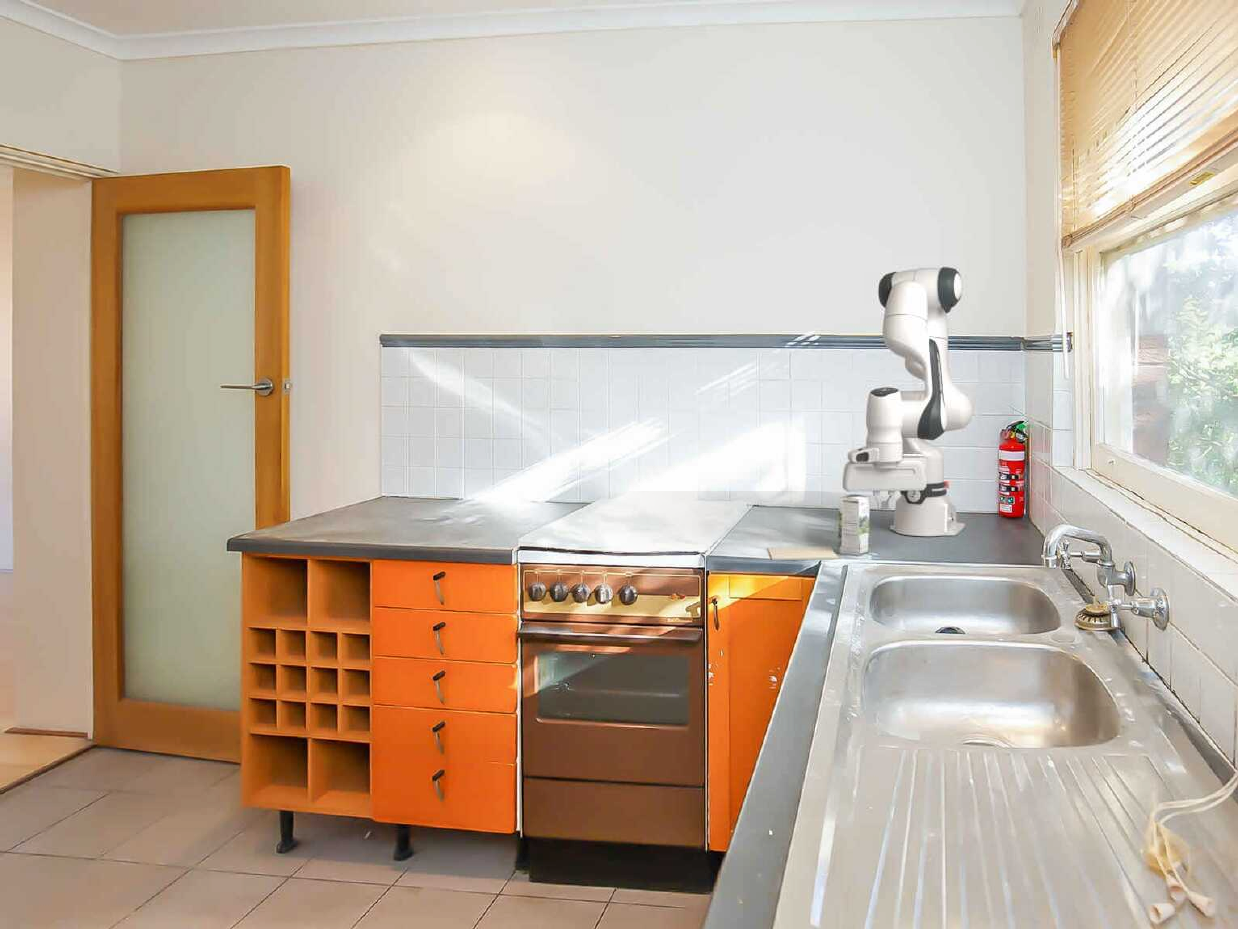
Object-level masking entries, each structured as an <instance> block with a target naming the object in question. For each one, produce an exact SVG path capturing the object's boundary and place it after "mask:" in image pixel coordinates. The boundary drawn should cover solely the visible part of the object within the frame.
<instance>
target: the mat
mask: <svg viewBox="0 0 1238 929" xmlns="http://www.w3.org/2000/svg"><path fill="white" fill-rule="evenodd" d="M767 550H768V553H769V556H770V558H771V560H772V561H783V560H784V561H789V560H790V561H792V560H793V561H794V560H795V561H797V560H802V561H803V560H838V559H839V556H838V555H837V554H836V552H835V551H834V550H833V549H832V547H831V546H786V547H785V546H780V547H778V546H776V547H774V546H772V547H770V546H769V547H768V546H767Z"/></svg>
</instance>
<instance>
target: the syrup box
mask: <svg viewBox="0 0 1238 929" xmlns="http://www.w3.org/2000/svg"><path fill="white" fill-rule="evenodd" d="M870 500H871V498H870V496H868V495H862V494H848V495H844V496H840V497H839V498H838V538H837V539H838V547H837V549H838V550H837V552H838V554H841V555H847V556H857V557H859V556H861V555H864V554H866V553H869V550H870V505H871V504H870V502H871V501H870Z"/></svg>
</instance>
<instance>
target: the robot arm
mask: <svg viewBox="0 0 1238 929" xmlns="http://www.w3.org/2000/svg"><path fill="white" fill-rule="evenodd" d="M963 286H964V285H963V280H962V276H961V273H960V272H959V271H958V270H957V269H956V268H954V267H948V266H943V267H919V268H916V269H915V268H914V269H908V270H907V269H906V270H901V271H892V272H889V273H886V274H885V275H883V276H882V278H881V279H880V280H879V284H878V288H877V290H878V291H877V292H878V293H877V294H878V299H879V300H878V301H879V302H880V305H881V306H882V308H884V314H883V320H882V321H883V322H882V340H883V342H884V344H885V347H887V349H888V350H889V351H891V352H892V353H893V354H895V355H897V356H898V357H901V358H903V359H904V366H905V369H906V371H907V372H908V373H909V375H912V376H913V377H915V378H917V379H919V380H921V381H923V382H924V390H899V389H898V388H895V387H889V386H887V387H878V388H875V389H872V390H871V391H869V393H868V397H867V401H866V402H867V404H866V414H865V415H866V416H865V425H866V428H867V436H866V439H865V446H863V447H860V448H856V449H855V450H851V451H850V450H849V452H847V460H848V461H847V462H846V463H845V466H844V468H843V473H842V488H843V490H844V491H845V492H846V493H849V492H853V493H857V492H872V495H873V497H874V498H875V500H876V503H877V509H878V510H890V509H891V507H892V506H891V505H892V504H891V503H892V501H893V500H894V498H895V497H896V492H899V493H900V496H899V498H898V499H897V500H896V501H895V506H894V507H895V508H894V520H893V521H894V522H893V524H892V525H889V530H891V531H893V532H896V533H897V534H901V535H906V536H915V537H937V536H938V537H940V536H942V537H943V536H956V535H958V534H960V532H961V531H962V530H963V529H964V528H965V527H966V526H965V525H966V524H965V523H963V522H960V521H959V522H958V521H957V508H956V507H957V506H955V505H954V503H953V502H952V501H951V500H950V498H949V497H948V496H947V493H948V492H947V489H949V488H950V481H948V480H946V481H945V480H944V476H945V457H944V454H943V452H942V451H941V450H940V448H938V447H937V446H935V445H934V444H932V443H929V442H928V441H935V440H936V439H938V438H940V437H941V436H942V435H944V433H945V432H951V431H958V430H963V429H965V428H967V426H968V425H969V423H971V420H972V419H973V415H974V414H973V413H974V408H973V402H972V401H971V399H970V397H969V396H968V395H967V394H966V393H964V392H963V391H962V390H961V389H960V388H959V387H958V386H957V385H956V384H955V383H954V381H953V379H952V377H951V374H950V371H949V361H948V355H949V354H948V352H949V351H948V350H949V349H948V348H949V347H948V346H949V345H948V344H949V324H948V316H947V314H949V313H950V312H951V311H952V308H954V307H955V306H956V305H957V304H958V303H959V301H960V300H961V297H962V292H963V289H964V287H963ZM926 440H927V441H926ZM881 492H887V494H888V495H889V496H888V498H887V500H885V501H884V500H883V501H881V499H880V497H879V496H881Z"/></svg>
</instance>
